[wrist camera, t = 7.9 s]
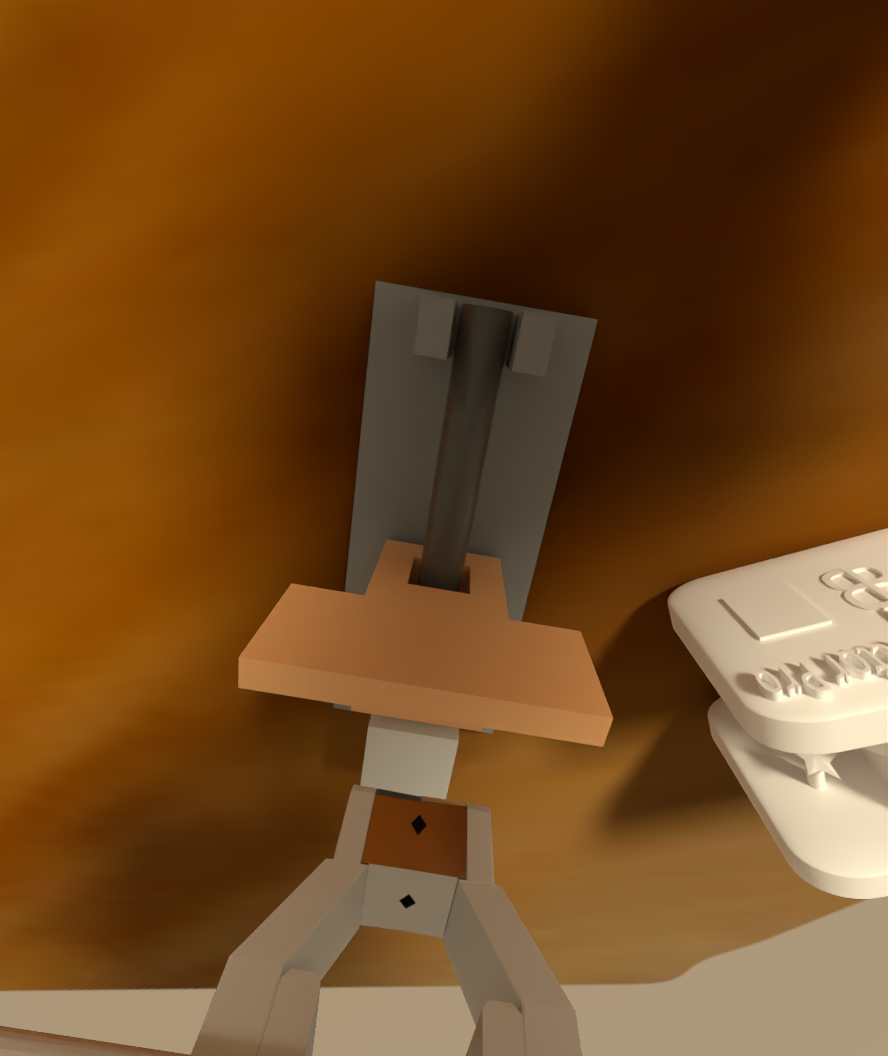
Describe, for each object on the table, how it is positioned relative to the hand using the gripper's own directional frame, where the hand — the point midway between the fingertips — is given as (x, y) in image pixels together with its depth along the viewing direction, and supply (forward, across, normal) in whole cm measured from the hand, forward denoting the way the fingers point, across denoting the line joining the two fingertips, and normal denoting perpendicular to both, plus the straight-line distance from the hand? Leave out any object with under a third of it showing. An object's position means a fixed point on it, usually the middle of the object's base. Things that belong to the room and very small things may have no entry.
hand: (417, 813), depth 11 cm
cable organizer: (+18, -21, +3) cm, 28 cm away
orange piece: (+16, 0, +4) cm, 17 cm away
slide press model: (+18, 0, +1) cm, 18 cm away
